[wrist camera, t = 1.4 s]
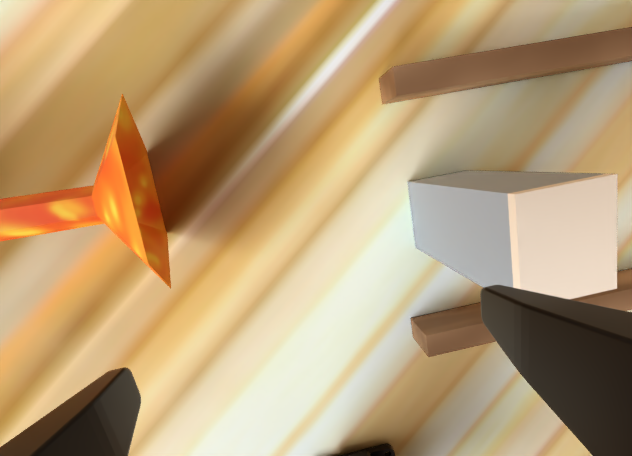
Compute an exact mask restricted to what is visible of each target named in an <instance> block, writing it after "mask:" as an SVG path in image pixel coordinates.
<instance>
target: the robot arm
mask: <svg viewBox="0 0 632 456" xmlns="http://www.w3.org/2000/svg"><path fill="white" fill-rule="evenodd" d="M480 295H481V317H482V321H483V323H484V325H485V326H486V328H487V329H488V330H489V332H490V333H491V335H492V336H493V337H494V339H495V340H496V341H497V343H498V344H499V345H500V347H501V348H502V350H503V351H504V352H505V354H506V355H507V356H508V358H509V359H510V361H511V362H512V363H513V365H514V366H515V367H516V369H517V370H518V371H519V372H520V374H521V375H522V376H523V377H524V378H525V380H526V381H527V382H528V383H529V384H530V385H531V387H532V388H533V389H534V390H535V391H536V392H537V393H538V394H539V396H540V397H541V398H542V399H543V400H544V401H545V402H546V403H547V405H548V406H549V407H550V408H551V409H552V410H553V411H554V412H555V414H556V415H557V416H558V417H559V418H560V419H561V420H562V421H563V423H564V424H565V425H566V426H567V427H568V428H569V429H570V430H571V432H572V433H573V434H574V435H575V436H576V437H577V438H578V439H579V441H580V442H581V443H582V444H583V445H584V446H585V447H586V448H587V450H588V451H589V452H590V453H591V454H592V455H593V456H632V312H627V311H622V310H617V309H613V308H608V307H603V306H598V305H594V304H589V303H584V302H579V301H575V300H570V299H565V298H560V297H556V296H551V295H546V294H541V293H537V292H532V291H527V290H522V289H518V288H513V287H508V286H503V285H492V286H487V287H484V288H483V289H482V290H481V294H480ZM140 405H141V397H140V393H139V390H138V388H137V385H136V383H135V380H134V377H133V375H132V372H131V371H130V369H128V368H120V369H115V370H111V371H108V372H107V373H105V374H104V375H102V376H101V377H100V378H98V379H97V380H95V381H94V382H93V383H91V384H90V385H88V386H87V387H85V388H84V389H83V390H81V391H80V392H78V393H77V394H75V395H74V396H73V397H71V398H70V399H68V400H67V401H65V402H64V403H63V404H61V405H60V406H58V407H57V408H56V409H54V410H53V411H51V412H50V413H48V414H47V415H46V416H44V417H43V418H41V419H40V420H38V421H37V422H36V423H34V424H33V425H31V426H30V427H28V428H27V429H26V430H24V431H23V432H21V433H20V434H19V435H17V436H16V437H14V438H13V439H11V440H10V441H9V442H7V443H6V444H4V445H3V446H1V447H0V456H128V453H129V449H130V445H131V441H132V437H133V433H134V429H135V425H136V421H137V417H138V413H139V409H140ZM387 451H389V452H387ZM386 452H387V453H386ZM341 456H395V453H394V450H393V448H392V446H391V445H389V444H384V445H380V446H377V447H373V448H369V449H365V450H361V451H357V452H353V453H349V454H345V455H341Z"/></svg>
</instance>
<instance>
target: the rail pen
mask: <svg viewBox="0 0 632 456" xmlns="http://www.w3.org/2000/svg"><path fill="white" fill-rule="evenodd" d="M629 61H632V27H629V28H623V29H617V30H611V31H605V32H599V33H593V34H587V35H581V36H575V37H569V38H563V39H557V40H551V41H545V42H539V43H533V44H527V45H521V46H514V47H508V48H502V49H496V50H490V51H484V52H478V53H472V54H466V55H460V56H454V57H448V58H442V59H436V60H430V61H424V62H418V63H412V64H406V65H400V66H394V67H392V68H391V69H390V70H388V71H387V72H386V73H385V74H384V75H383V76H382V77H380V78H379V83H380V90H381V98H382V104H387V103H393V102H399V101H405V100H410V99H416V98H422V97H428V96H433V95H439V94H445V93H451V92H456V91H462V90H468V89H474V88H479V87H485V86H491V85H497V84H502V83H508V82H514V81H520V80H525V79H531V78H537V77H543V76H548V75H554V74H560V73H566V72H571V71H577V70H583V69H589V68H594V67H600V66H606V65H612V64H617V63H623V62H629ZM570 300H575V301H579V302H584V303H589V304H594V305H598V306H603V307H608V308H613V309H617V310H622V311H627V310H631V309H632V269H627V270H623V271H619V272H617V289H613V290H608V291H604V292H600V293H595V294H591V295H586V296H582V297H578V298H573V299H570ZM411 325H412V332H413V338H414V339H415V340H416V342H417V343H418V344H419V345H420V347H421V348H422V349H423V351H424V352H425V353H426V354H427V356H428V357H431V356H435V355H440V354H444V353H448V352H452V351H457V350H461V349H465V348H469V347H474V346H478V345H482V344H486V343H491V342H495V341H496V340H495V339H494V337H493V336H492V335H491V333H490V332H489V330H488V329H487V328H486V326H485V325H484V323H483V321H482V317H481V303H476V304H472V305H467V306H463V307H458V308H454V309H449V310H445V311H440V312H436V313H432V314H427V315H423V316H418V317H414V318H411Z"/></svg>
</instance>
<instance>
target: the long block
mask: <svg viewBox="0 0 632 456" xmlns="http://www.w3.org/2000/svg"><path fill="white" fill-rule="evenodd" d="M408 189H409V197H410V205H411V213H412V222H413V230H414V238H415V246H416V248H417V249H419V250H421V251H422V252H424V253H426V254H427V255H429V256H431V257H432V258H434V259H436V260H437V261H439V262H441V263H443V264H444V265H446V266H448V267H449V268H451V269H453V270H454V271H456V272H458V273H459V274H461V275H463V276H465V277H466V278H468V279H470V280H471V281H473V282H475V283H476V284H478V285H480V286H481V287H483V288H484V287H487V286H492V285H503V286H508V287H513V288H518V289H522V290H527V291H532V292H537V293H541V294H546V295H551V296H556V297H560V298H565V299H573V298H578V297H582V296H586V295H591V294H595V293H600V292H604V291H608V290H613V289H617V174H600V173H555V172H510V171H461V172H455V173H450V174H445V175H440V176H435V177H430V178H424V179H419V180H414V181H409V182H408Z"/></svg>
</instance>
